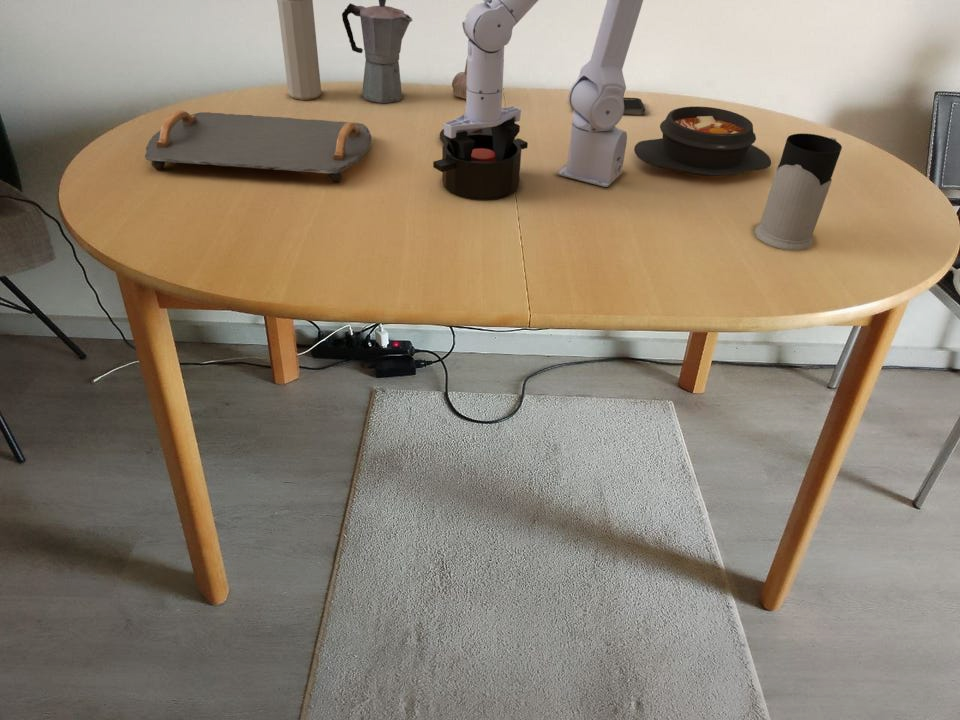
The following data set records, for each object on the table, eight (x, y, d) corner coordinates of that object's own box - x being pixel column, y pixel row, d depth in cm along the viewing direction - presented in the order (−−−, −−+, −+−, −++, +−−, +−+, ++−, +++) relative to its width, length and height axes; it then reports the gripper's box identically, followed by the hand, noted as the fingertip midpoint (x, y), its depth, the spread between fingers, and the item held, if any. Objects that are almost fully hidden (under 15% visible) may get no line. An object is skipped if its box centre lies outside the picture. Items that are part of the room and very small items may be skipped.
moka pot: (408, 107, 153) (405, 4, 141) (339, 100, 156) (330, -2, 143) (420, 93, 161) (418, -6, 149) (353, 87, 163) (347, -12, 151)
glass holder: (744, 235, 113) (772, 142, 104) (783, 208, 121) (812, 118, 112) (799, 256, 108) (832, 159, 99) (835, 225, 117) (869, 134, 108)
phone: (572, 95, 160) (640, 98, 160) (571, 100, 161) (639, 103, 161) (575, 107, 154) (646, 110, 154) (574, 112, 154) (645, 115, 155)
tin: (498, 180, 125) (500, 152, 122) (485, 189, 122) (486, 161, 119) (475, 173, 127) (476, 146, 124) (462, 183, 124) (462, 154, 121)
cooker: (545, 184, 125) (549, 148, 121) (461, 211, 116) (462, 173, 112) (497, 159, 133) (499, 125, 129) (415, 183, 124) (414, 146, 120)
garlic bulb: (470, 88, 165) (471, 51, 160) (491, 97, 161) (492, 59, 156) (443, 94, 161) (444, 56, 156) (464, 103, 157) (465, 65, 152)
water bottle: (320, 102, 154) (307, -30, 139) (283, 100, 154) (266, -32, 139) (328, 88, 162) (316, -38, 146) (292, 86, 161) (277, -40, 146)
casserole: (643, 184, 127) (652, 137, 122) (623, 143, 142) (630, 100, 136) (783, 187, 128) (798, 140, 123) (749, 146, 143) (761, 104, 138)
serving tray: (130, 172, 123) (120, 137, 119) (186, 124, 141) (179, 92, 137) (355, 189, 121) (353, 153, 117) (382, 138, 139) (381, 106, 135)
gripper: (503, 74, 121) (499, 153, 129) (432, 89, 113) (432, 171, 122) (531, 85, 117) (525, 166, 125) (459, 102, 109) (458, 186, 118)
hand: (481, 170), depth 123 cm, fingers open, 7 cm apart
